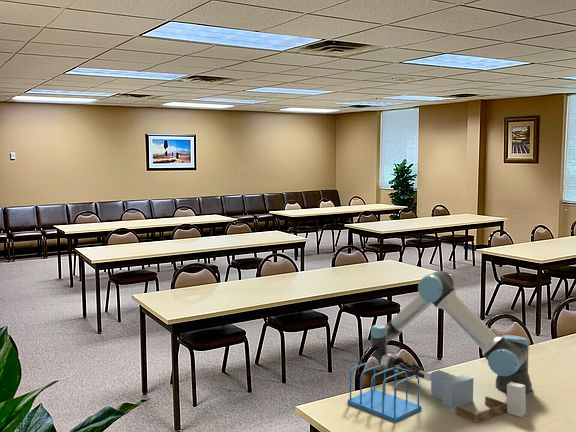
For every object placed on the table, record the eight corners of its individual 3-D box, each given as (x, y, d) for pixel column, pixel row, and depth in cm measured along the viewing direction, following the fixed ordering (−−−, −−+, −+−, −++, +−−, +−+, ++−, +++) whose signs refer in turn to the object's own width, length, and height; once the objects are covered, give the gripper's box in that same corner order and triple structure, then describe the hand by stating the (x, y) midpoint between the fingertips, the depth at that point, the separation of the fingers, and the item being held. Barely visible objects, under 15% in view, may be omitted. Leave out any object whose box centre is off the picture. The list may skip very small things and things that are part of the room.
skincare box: (525, 414, 231) (526, 384, 230) (521, 418, 227) (522, 387, 226) (510, 410, 235) (511, 380, 234) (506, 413, 231) (506, 384, 231)
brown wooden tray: (486, 403, 242) (486, 396, 242) (507, 411, 234) (507, 404, 233) (455, 414, 231) (456, 406, 231) (476, 423, 223) (476, 415, 223)
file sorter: (347, 404, 243) (347, 368, 242) (373, 393, 254) (373, 358, 253) (395, 422, 224) (395, 384, 223) (421, 410, 236) (422, 373, 235)
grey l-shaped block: (445, 390, 256) (445, 368, 256) (473, 401, 244) (473, 378, 243) (424, 396, 249) (424, 374, 248) (452, 408, 237) (452, 384, 236)
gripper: (402, 368, 278) (441, 383, 258) (382, 373, 270) (420, 389, 251) (403, 352, 277) (441, 366, 257) (382, 358, 270) (420, 372, 250)
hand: (430, 377), depth 254 cm, fingers closed
